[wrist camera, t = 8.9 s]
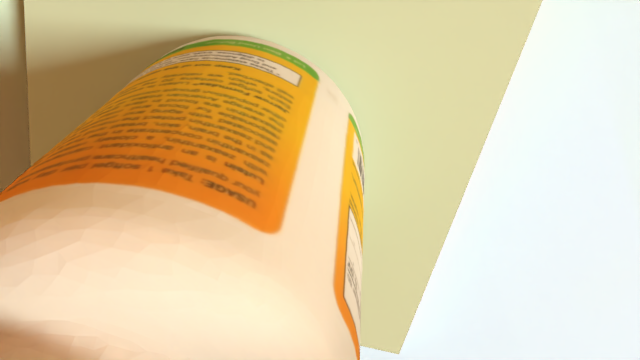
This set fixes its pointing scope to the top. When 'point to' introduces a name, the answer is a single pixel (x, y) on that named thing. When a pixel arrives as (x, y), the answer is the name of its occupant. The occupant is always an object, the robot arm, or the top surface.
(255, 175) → the supplement bottle
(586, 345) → the top surface
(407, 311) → the pad
